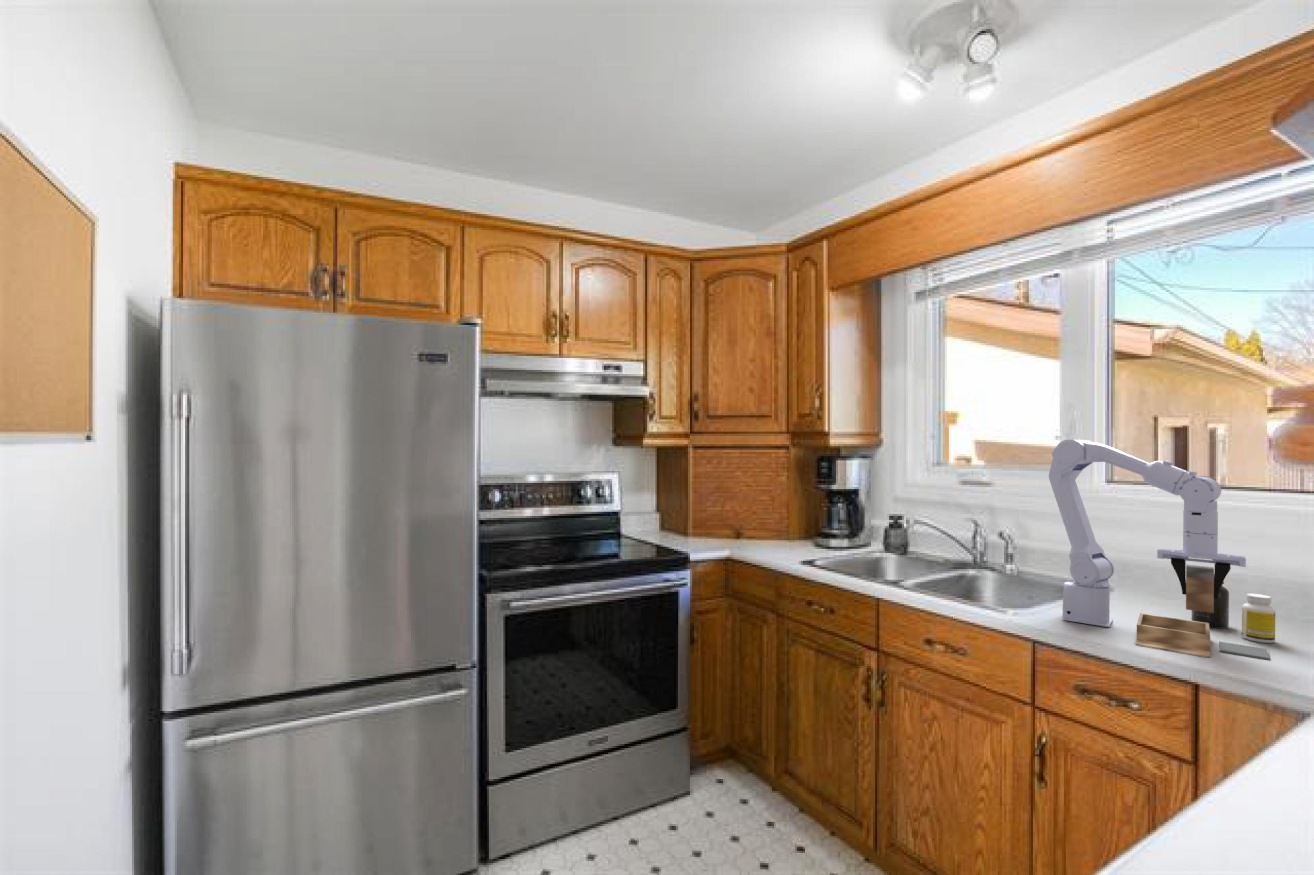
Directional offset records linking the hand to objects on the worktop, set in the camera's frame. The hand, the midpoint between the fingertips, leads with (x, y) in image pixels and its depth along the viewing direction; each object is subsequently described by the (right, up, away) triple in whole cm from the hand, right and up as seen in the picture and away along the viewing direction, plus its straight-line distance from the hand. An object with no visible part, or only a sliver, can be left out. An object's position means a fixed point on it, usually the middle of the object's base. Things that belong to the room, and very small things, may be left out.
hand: (1199, 595), depth 139 cm
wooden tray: (-3, -10, +3) cm, 11 cm away
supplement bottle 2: (+16, -11, +4) cm, 20 cm away
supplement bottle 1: (+15, -11, +15) cm, 24 cm away
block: (0, -3, 0) cm, 3 cm away
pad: (+5, -11, -4) cm, 13 cm away
